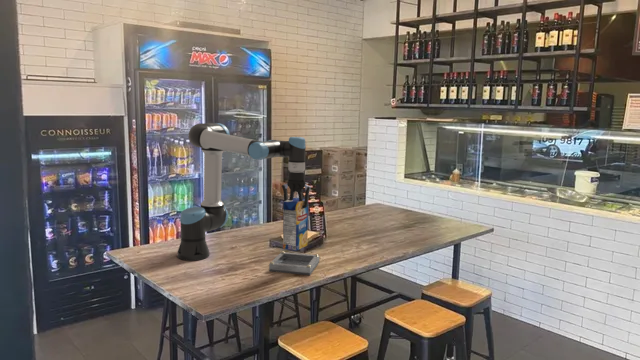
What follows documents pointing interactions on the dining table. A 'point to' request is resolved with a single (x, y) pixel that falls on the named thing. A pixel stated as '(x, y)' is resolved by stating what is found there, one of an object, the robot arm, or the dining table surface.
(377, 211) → the dining table surface
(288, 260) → the socket
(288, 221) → the beverage box
